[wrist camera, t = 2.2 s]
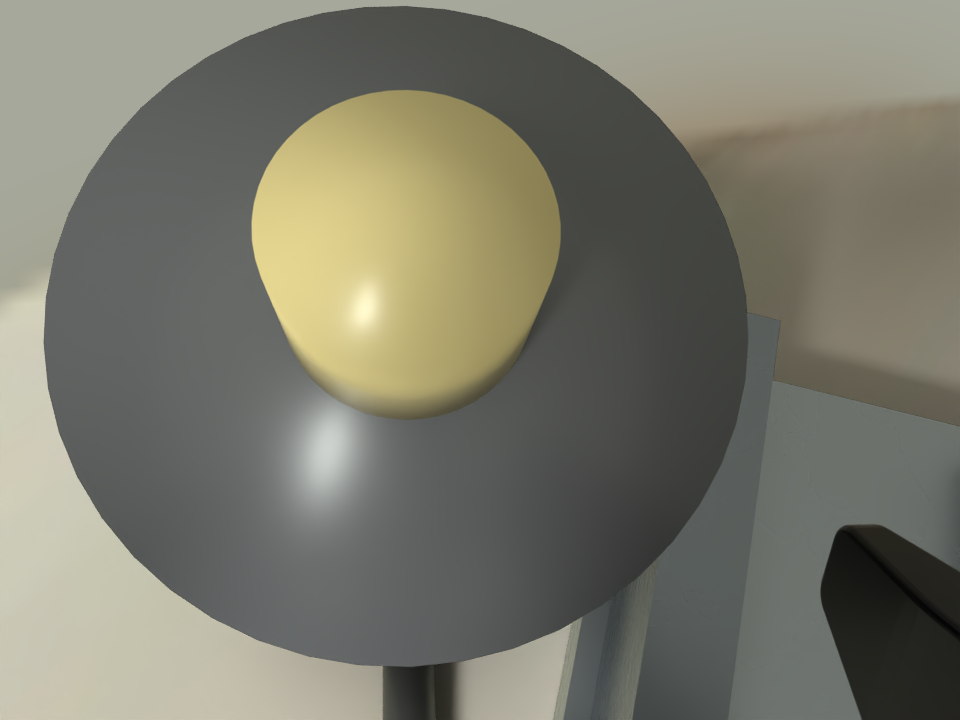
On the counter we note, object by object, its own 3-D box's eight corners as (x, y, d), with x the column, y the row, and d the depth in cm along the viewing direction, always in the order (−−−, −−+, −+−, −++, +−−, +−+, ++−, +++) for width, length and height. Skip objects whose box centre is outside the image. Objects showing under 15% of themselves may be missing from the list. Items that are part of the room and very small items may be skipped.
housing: (1085, 1039, 16) (1293, 1166, 12) (518, 901, 16) (552, 987, 12) (1091, 475, 20) (1256, 438, 16) (622, 359, 19) (674, 294, 16)
